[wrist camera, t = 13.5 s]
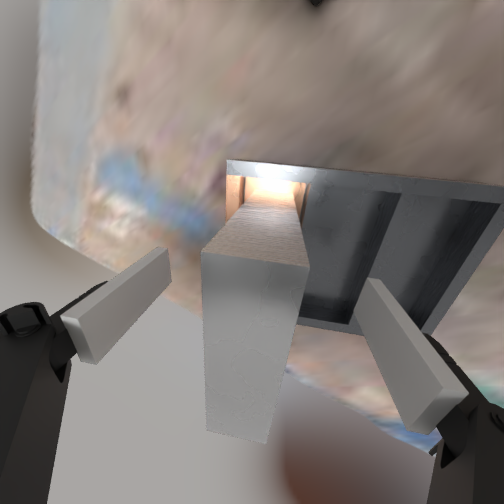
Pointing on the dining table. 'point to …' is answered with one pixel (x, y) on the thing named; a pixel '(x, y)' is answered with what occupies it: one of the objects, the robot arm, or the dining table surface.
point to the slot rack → (378, 236)
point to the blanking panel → (251, 312)
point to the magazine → (316, 2)
